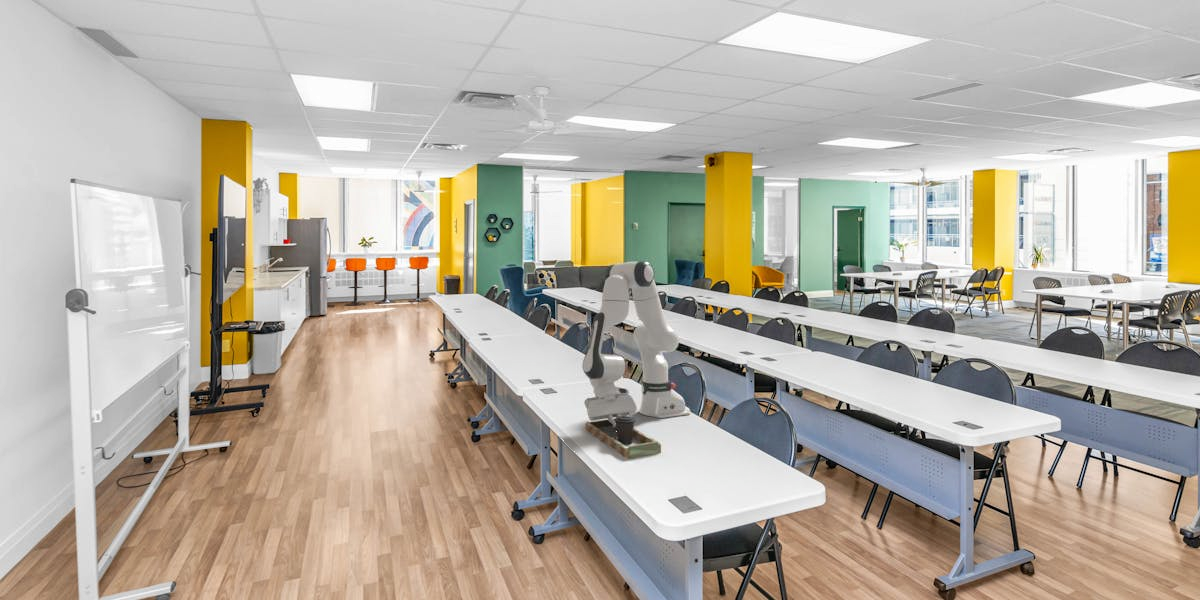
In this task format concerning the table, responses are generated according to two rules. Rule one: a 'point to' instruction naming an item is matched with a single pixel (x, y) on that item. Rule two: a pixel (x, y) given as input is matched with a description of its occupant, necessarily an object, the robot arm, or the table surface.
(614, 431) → the mats
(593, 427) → the trap box
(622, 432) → the coffee cup
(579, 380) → the table surface
